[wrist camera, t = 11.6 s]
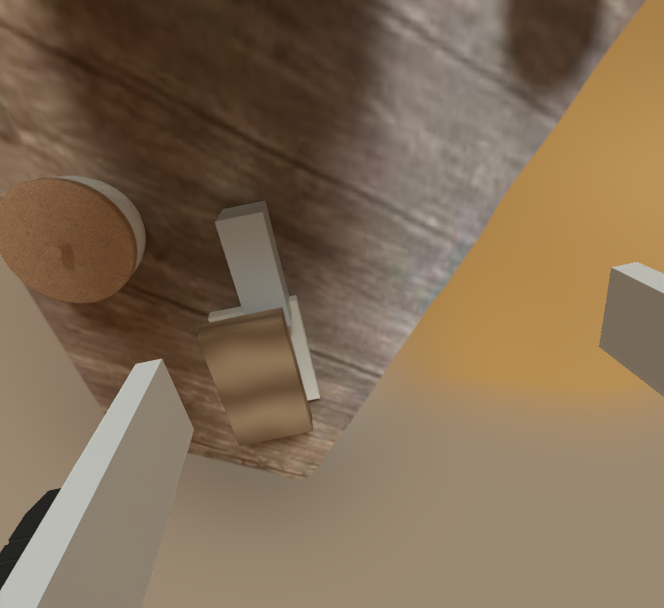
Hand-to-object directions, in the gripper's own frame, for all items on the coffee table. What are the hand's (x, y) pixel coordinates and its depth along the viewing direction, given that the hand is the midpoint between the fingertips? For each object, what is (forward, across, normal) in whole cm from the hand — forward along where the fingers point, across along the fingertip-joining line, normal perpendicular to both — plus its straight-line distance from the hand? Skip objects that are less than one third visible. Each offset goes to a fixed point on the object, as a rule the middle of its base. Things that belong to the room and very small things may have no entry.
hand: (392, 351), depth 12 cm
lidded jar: (+32, -22, 0) cm, 39 cm away
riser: (+32, -8, -7) cm, 33 cm away
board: (+25, -10, -17) cm, 32 cm away
